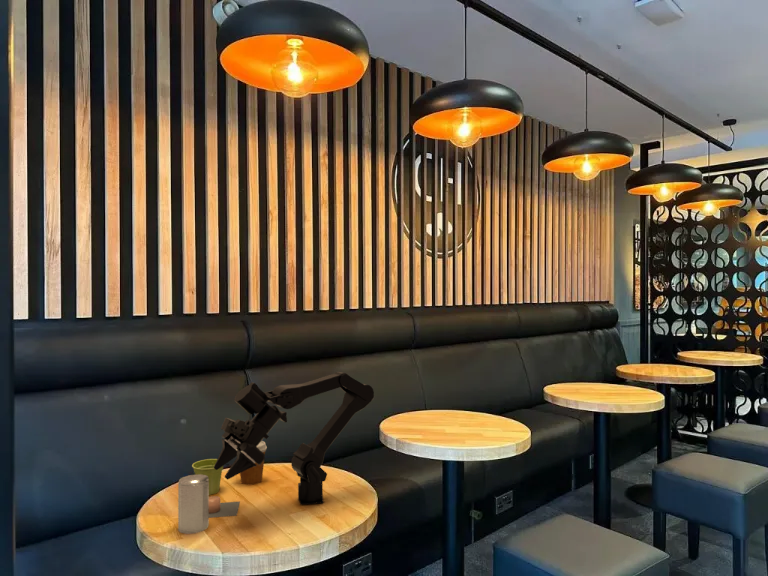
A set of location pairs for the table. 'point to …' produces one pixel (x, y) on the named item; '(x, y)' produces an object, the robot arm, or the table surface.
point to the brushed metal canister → (193, 504)
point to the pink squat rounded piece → (214, 504)
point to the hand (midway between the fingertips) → (220, 473)
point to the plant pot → (209, 473)
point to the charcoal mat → (226, 510)
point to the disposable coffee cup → (254, 469)
